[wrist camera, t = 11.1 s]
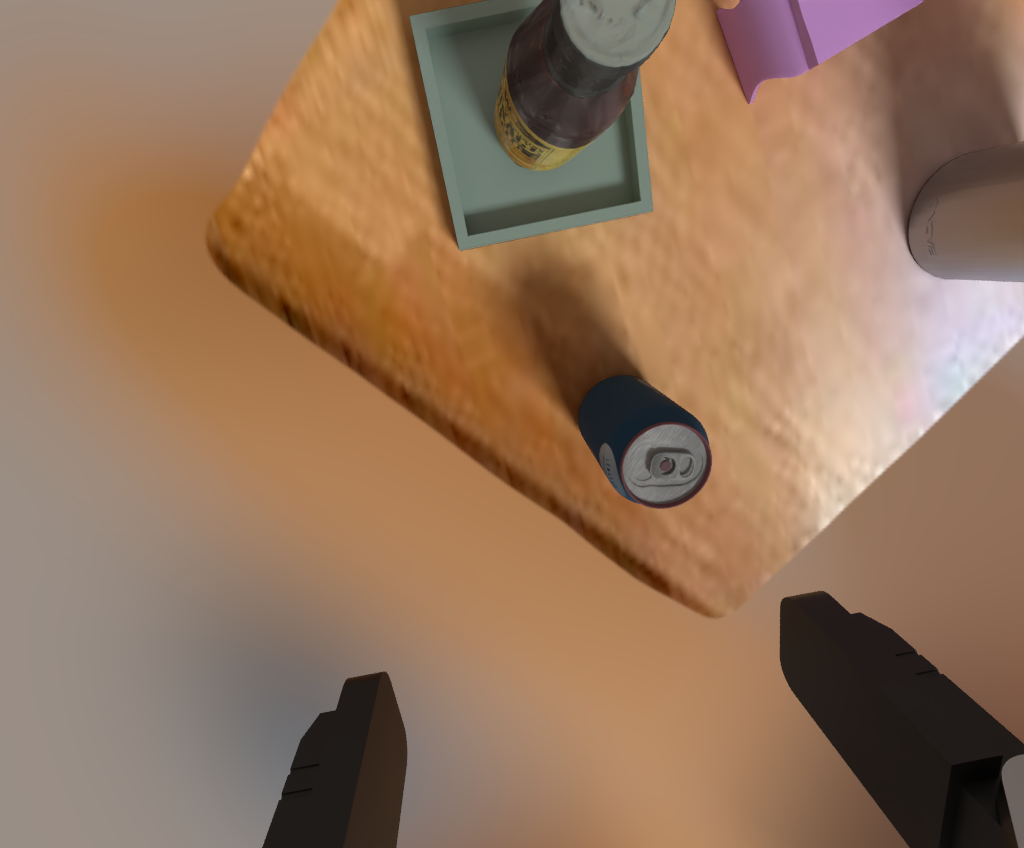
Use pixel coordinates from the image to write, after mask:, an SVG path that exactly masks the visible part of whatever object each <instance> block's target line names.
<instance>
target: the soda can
mask: <svg viewBox="0 0 1024 848" xmlns="http://www.w3.org/2000/svg"><path fill="white" fill-rule="evenodd" d="M578 420H579V428H580V432H581V434H582V437H583V438H584V440H585V442H586V443H587V445H588V447H589V448H590V450H591V452H592V453H593V455H594V456H595V458H596V460H597V461H598V463H599V465H600V466H601V468H602V470H603V471H604V473H605V475H606V476H607V478H608V479H609V481H610V483H611V484H612V486H613V487H614V488H615V490H616V491H617V492H618V493H620V494H621V495H622V496H623V497H625V498H626V499H628V500H630V501H633V502H635V503H639V504H642V505H644V506H647V507H650V508H657V509H664V508H671V507H675V506H678V505H681V504H683V503H685V502H687V501H688V500H690V499H691V498H693V497H694V496H695V495H696V494H697V493H698V492H699V491H700V490H701V489H702V488H703V486H704V485H705V483H706V481H707V479H708V477H709V475H710V471H711V466H712V455H711V450H710V447H709V441H708V437H707V434H706V432H705V429H704V428H703V426H702V425H701V423H700V422H699V421H698V420H697V419H696V418H695V417H694V416H693V415H692V414H690V413H689V412H688V411H686V410H685V409H683V408H682V407H681V406H679V405H678V404H676V403H675V402H674V401H672V400H671V399H669V398H668V397H667V396H665V395H664V394H662V393H661V392H660V391H658V390H657V389H655V388H654V387H653V386H651V385H650V384H648V383H647V382H646V381H644V380H642V379H640V378H637V377H634V376H627V375H620V376H614V377H610V378H607V379H605V380H603V381H601V382H600V383H598V384H597V385H595V386H594V387H593V388H592V389H591V390H590V391H589V392H588V393H587V395H586V396H585V398H584V400H583V402H582V404H581V407H580V410H579V418H578Z"/></svg>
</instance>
